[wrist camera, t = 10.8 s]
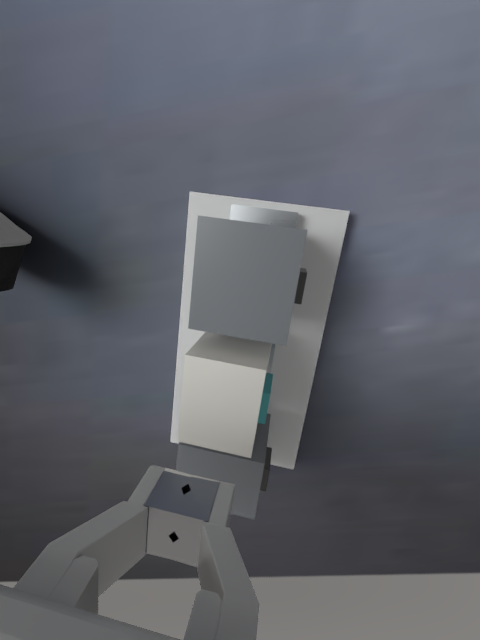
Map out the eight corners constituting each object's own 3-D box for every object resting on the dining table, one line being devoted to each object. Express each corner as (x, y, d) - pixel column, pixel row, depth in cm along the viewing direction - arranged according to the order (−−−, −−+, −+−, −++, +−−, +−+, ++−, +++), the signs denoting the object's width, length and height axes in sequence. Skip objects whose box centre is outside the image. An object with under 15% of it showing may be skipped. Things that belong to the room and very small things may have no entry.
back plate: (194, 193, 21) (189, 191, 20) (347, 212, 20) (349, 211, 19) (174, 434, 26) (170, 441, 25) (293, 460, 25) (293, 469, 24)
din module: (214, 321, 21) (184, 354, 15) (279, 333, 20) (274, 372, 15) (206, 388, 22) (177, 441, 16) (267, 400, 22) (258, 459, 16)
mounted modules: (221, 220, 19) (198, 215, 14) (310, 232, 18) (316, 230, 14) (197, 446, 24) (173, 499, 19) (267, 461, 23) (261, 521, 18)
